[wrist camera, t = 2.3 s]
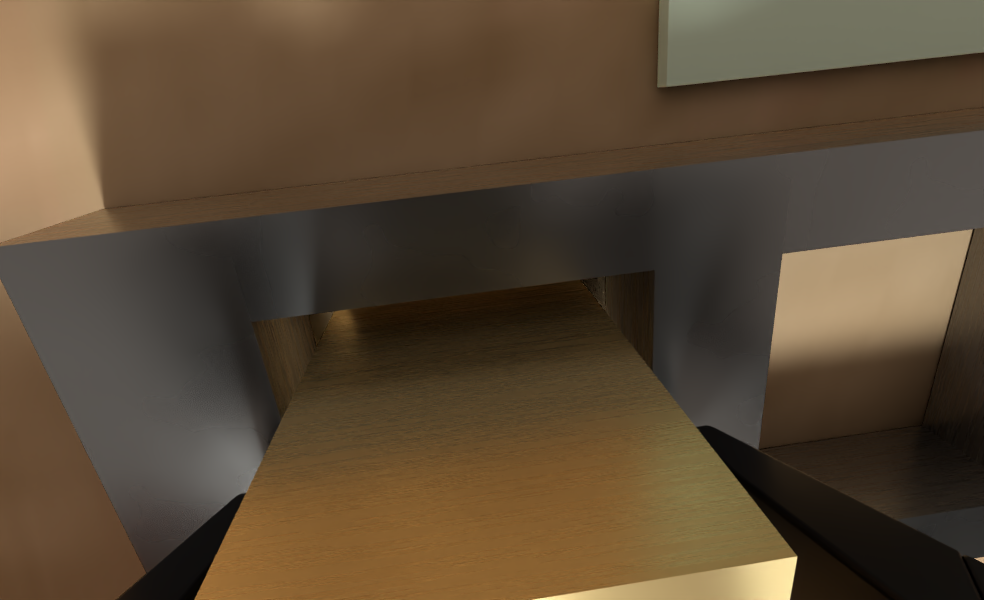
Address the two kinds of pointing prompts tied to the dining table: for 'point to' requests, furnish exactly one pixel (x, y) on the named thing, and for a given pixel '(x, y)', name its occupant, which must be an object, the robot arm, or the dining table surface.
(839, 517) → the robot arm
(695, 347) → the grey flat rectangular frame
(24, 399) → the dining table surface
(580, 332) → the block
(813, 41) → the mat
